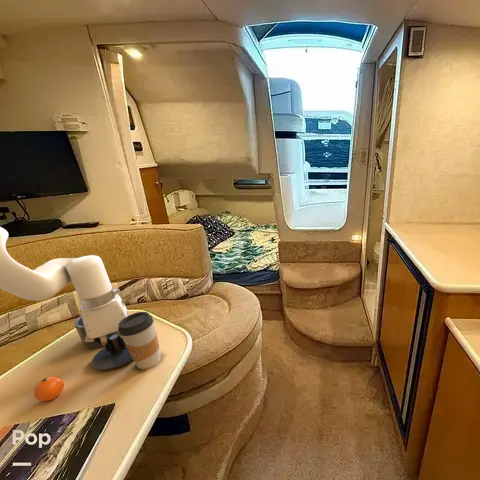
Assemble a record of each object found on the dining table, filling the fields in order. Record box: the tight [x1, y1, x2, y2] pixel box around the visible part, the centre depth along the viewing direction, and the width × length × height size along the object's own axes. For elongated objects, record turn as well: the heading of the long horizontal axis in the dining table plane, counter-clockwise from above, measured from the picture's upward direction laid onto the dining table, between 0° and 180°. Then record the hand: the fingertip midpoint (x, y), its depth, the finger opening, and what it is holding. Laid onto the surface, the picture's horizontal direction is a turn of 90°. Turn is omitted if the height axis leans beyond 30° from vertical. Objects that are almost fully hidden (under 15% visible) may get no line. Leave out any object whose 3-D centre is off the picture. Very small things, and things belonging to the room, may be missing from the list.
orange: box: [33, 376, 65, 402], centre depth 69 cm, size 6×6×6 cm
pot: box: [74, 315, 120, 350], centre depth 91 cm, size 13×13×8 cm
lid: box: [91, 334, 133, 371], centre depth 82 cm, size 14×14×7 cm
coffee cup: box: [118, 311, 162, 370], centre depth 77 cm, size 8×8×15 cm
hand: (118, 349), depth 83 cm, fingers closed on lid, 2 cm apart
